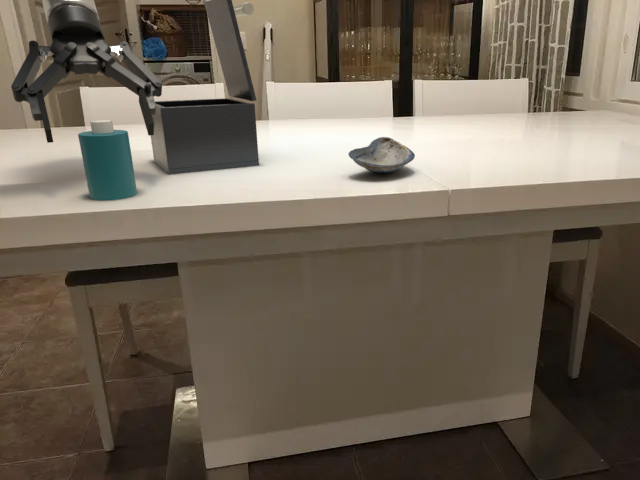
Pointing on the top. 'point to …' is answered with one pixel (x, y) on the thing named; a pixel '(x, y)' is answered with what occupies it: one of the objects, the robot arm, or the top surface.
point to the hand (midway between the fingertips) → (102, 133)
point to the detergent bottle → (107, 162)
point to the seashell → (382, 155)
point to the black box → (204, 135)
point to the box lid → (231, 45)
